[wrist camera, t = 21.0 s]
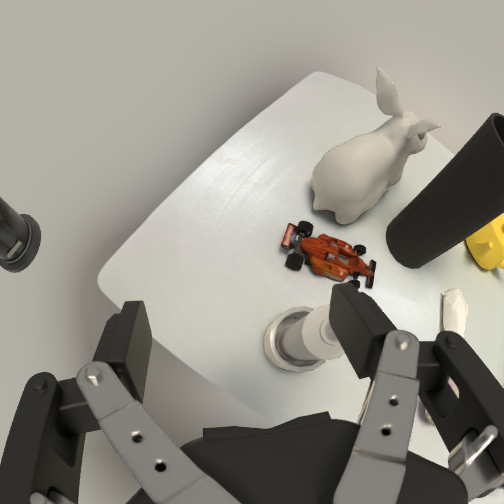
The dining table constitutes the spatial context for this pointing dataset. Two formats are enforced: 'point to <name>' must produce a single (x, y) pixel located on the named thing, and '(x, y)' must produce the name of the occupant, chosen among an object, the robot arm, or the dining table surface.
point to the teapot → (488, 244)
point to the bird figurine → (455, 311)
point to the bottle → (309, 338)
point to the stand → (271, 335)
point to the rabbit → (369, 159)
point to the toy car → (326, 255)
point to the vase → (453, 200)
